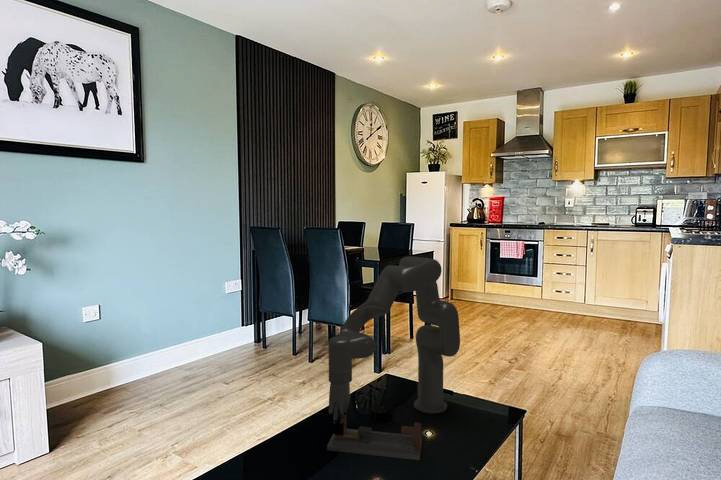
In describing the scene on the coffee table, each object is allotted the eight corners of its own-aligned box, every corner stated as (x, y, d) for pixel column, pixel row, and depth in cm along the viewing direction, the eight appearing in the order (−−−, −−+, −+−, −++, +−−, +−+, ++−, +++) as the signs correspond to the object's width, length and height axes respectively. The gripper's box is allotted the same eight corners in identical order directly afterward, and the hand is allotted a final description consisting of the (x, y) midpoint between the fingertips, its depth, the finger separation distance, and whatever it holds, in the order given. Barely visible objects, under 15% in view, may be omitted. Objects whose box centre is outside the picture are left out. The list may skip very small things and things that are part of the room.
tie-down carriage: (338, 434, 145) (337, 413, 145) (372, 437, 143) (372, 416, 143) (334, 441, 141) (334, 420, 140) (369, 445, 138) (369, 423, 138)
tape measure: (393, 422, 157) (393, 411, 157) (375, 424, 155) (375, 414, 155) (386, 413, 164) (386, 404, 164) (368, 416, 162) (368, 406, 162)
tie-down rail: (335, 434, 148) (335, 410, 148) (421, 443, 142) (421, 417, 142) (327, 450, 138) (326, 423, 138) (419, 460, 133) (419, 433, 132)
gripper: (335, 366, 150) (336, 418, 151) (321, 384, 134) (322, 442, 135) (357, 367, 149) (357, 420, 150) (345, 386, 132) (345, 445, 134)
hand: (340, 430), depth 142 cm, fingers closed on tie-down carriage, 4 cm apart
